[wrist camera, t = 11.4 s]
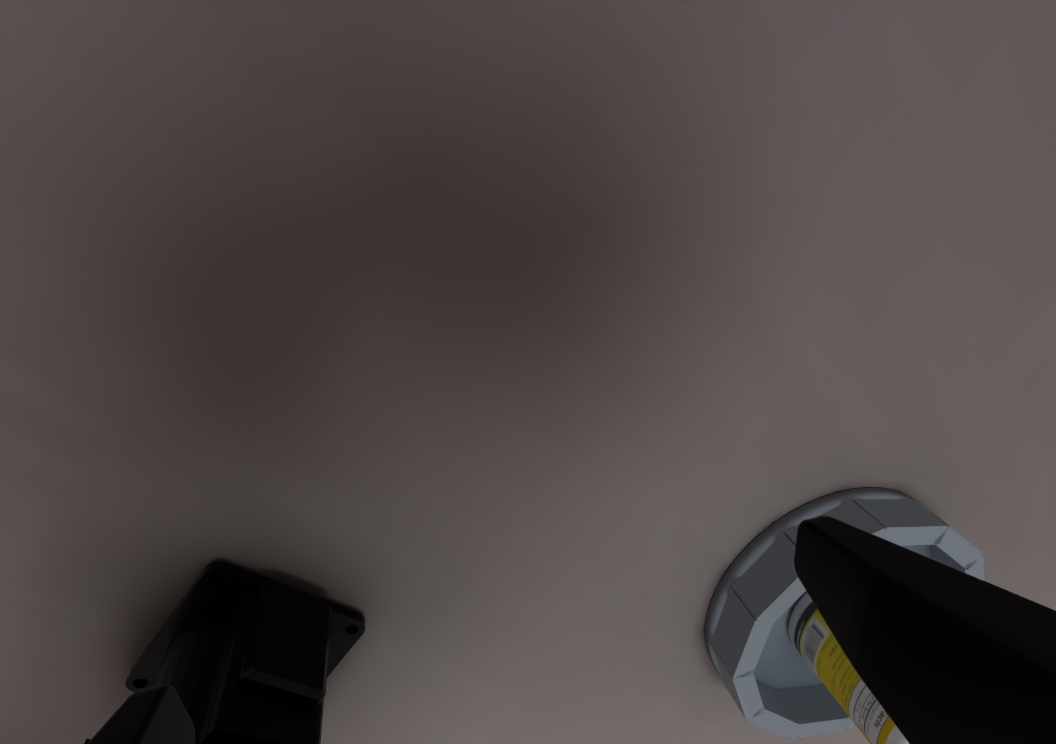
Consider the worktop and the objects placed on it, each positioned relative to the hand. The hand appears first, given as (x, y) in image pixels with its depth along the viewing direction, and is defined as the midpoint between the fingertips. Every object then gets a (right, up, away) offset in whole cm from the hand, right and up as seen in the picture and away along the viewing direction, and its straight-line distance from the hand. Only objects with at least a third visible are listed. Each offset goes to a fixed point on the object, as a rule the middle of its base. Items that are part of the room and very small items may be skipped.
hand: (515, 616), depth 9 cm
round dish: (+15, -8, +22) cm, 28 cm away
